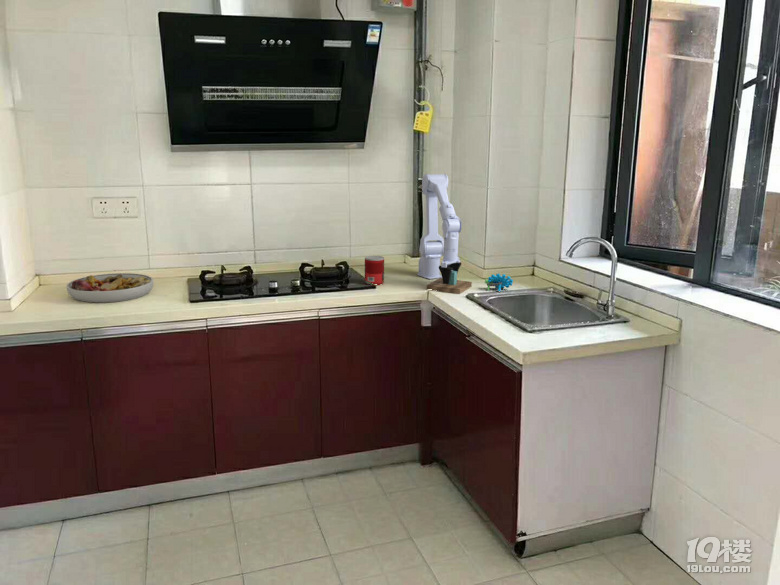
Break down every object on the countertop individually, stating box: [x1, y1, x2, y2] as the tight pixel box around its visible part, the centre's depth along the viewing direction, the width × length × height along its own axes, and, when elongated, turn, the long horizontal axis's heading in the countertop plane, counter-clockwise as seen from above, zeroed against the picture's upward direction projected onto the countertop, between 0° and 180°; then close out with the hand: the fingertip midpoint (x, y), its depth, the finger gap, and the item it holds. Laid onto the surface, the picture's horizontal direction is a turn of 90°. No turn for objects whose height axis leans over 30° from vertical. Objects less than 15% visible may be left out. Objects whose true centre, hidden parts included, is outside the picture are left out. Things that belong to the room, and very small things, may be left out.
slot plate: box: [426, 277, 473, 295], centre depth 259 cm, size 14×14×2 cm
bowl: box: [66, 272, 154, 304], centre depth 242 cm, size 30×30×8 cm
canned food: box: [364, 255, 385, 286], centre depth 264 cm, size 8×8×11 cm
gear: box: [484, 273, 514, 292], centre depth 256 cm, size 11×6×10 cm
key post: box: [448, 270, 458, 285], centre depth 259 cm, size 4×3×8 cm
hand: (449, 281), depth 259 cm, fingers open, 7 cm apart
